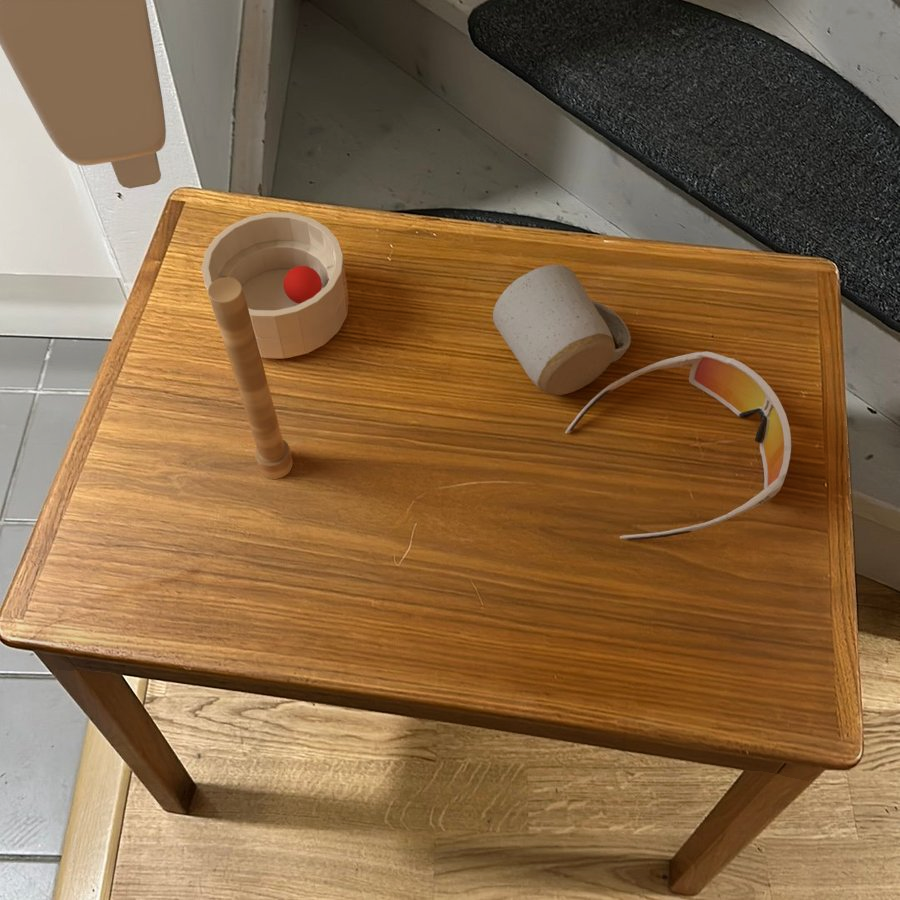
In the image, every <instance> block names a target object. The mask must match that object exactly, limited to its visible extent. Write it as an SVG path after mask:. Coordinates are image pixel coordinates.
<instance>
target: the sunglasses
mask: <svg viewBox="0 0 900 900" xmlns="http://www.w3.org/2000/svg"><path fill="white" fill-rule="evenodd" d="M688 365H690V371H689V377H688V382H689V383H690V384H691V385H693V386H694V387H696V388H698V389H700V390H701V391H703V392H704V393H706V394H708V395H710V396H711V397H713V398H714V399H715V400H716V401H718V402H720V403H721V404H722V405H724V406H725V407H726V408H728V409H729V410H730V411H731V412H733V413H734V414H735V415H736V416H737V417H739V418H740V419H747V418H749V417H752V416H753V415H755V414H758V416H759V418H760V419H761V421H760V425H759V426H758V429H757V431H756V434H755V438H754V442H756V443H758V444H759V452H760V457H761V461H762V466H763V477H764V478H763V479H764V480H763V481H764V483H763V489H762V490H761V491H760V492H758V493H757V494H756V495H755V496H754V497H752V498H751V499H749V500H747V501H746V502H745V503H744V504H742V505H740V506H738V507H736V508H735V509H733V510H731V511H730V512H727V513H726V514H724V515H720V516H718V517H716V518H713V519H711V520H708V521H705V522H701V523H696V524H693V525H688V526H685V527H680V528H675V529H670V530H664V531H663V530H662V531H655V532H647V533H635V534H634V533H633V534H623V535H619V538H620V539H621V540H625V541H639V540H652V539H660V538H667V537H672V536H679V535H684V534H689V533H692V532H697V531H700V530H704V529H708V528H710V527H713V526H715V525H718V524H720V523H722V522H725V521H727V520H731V519H732V518H734V517H737V516H739V515H743V514H744V513H746V512H748V511H750V510H752V509H755V508H757V507H759V506H760V505H762V504H764V502H766V501H769V500H770V499H772V498H773V497H775V496H776V495H777V494H778V493H779V492H780V491H781V489H782V486H783V485H784V482H785V478H786V476H787V474H788V469H789V464H790V461H791V453H792V435H791V433H792V432H791V427H790V425H789V420H788V417H787V413H786V410H785V409H784V407H783V405H782V402H781V400H780V399H779V397H778V396H777V394H776V392H775V391H774V390H773V388H772V387H771V386H770V385H769V384H768V383H767V382H766V381H765V379H764V378H763V377H761V375H759V374H758V373H757V372H756V371H755V370H753V369H752V368H750V367H749V366H747V365H746V364H744V363H743V362H741V361H739V360H737V359H735V358H733V357H728V356H725V355H722V354H719V353H715V352H712V351H695V352H691V353H686V354H682V355H678V356H677V355H676V356H674V357H670V358H669V357H668V358H666V359H662V360H660V361H656V362H654V363H652V364H649V365H647V366H644V367H642V368H639V369H638V370H635V371H633V372H630V373H629V374H627V375H625V376H623V377H621V378H619V379H617V380H615V381H614V382H612V383H610V384H608V385H607V386H605V388H603V389H602V390H601V391H599V392H598V393H597V394H596V395H595V396H594V397H593V398H592V399H590V401H589V402H587V403H586V405H585V406H584V407H583V408H582V409H581V410H580V412H579V413H578V414H577V415H576V417H575V418H574V419H573V420H572V421H571V423H570V424H569V426H568V427H567V428H566V430H565V431H564V433H565V434H570V433H571V432H572V431H573V430H574V429H575V428H576V426H577V425H578V423H579V422H580V421H581V420H582V418H583V417H585V415H586V414H587V413H588V412H589V411H590V409H592V408H593V406H594V405H596V403H597V402H599V401H600V400H601V399H602V398H603V397H604V396H605V395H607V394H608V393H610V392H612V391H614V390H615V389H616V388H617V389H618V388H619V387H621V386H624V385H625V384H627V383H628V382H630V381H632V380H633V379H635V378H638V377H639V376H642V375H644V374H646V373H650V372H653V371H656V370H663V369H675V368H679V367H684V366H688Z"/></svg>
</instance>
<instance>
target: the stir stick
mask: <svg viewBox="0 0 900 900" xmlns="http://www.w3.org/2000/svg"><path fill="white" fill-rule="evenodd" d="M208 295H209V297H208V299H209V298H210V300H209V302H210V301H211V303H210V305H211V304H212V306H211V308H212V307H213V310H214V313H213V315H214V314H215V316H214V318H215V317H216V319H215V321H216V320H217V322H216V324H217V323H218V325H217V327H218V326H219V328H218V330H219V332H220V336H221V339H222V343H223V345H224V347H225V348H224V349H225V352H226V355H227V358H228V362H229V365H230V367H231V370H232V374H233V377H234V380H235V383H236V386H237V390H238V394H239V397H240V400H241V402H242V406H243V408H244V413H245V416H246V418H247V422H248V425H249V428H250V431H251V434H252V437H253V441H254V444H255V449H254V458H255V460H256V463H257V467H258V470H259V472H260V474H261V475H262V476H264V477H265V478H268V479H270V480H271V479H272V480H277V479H282V478H284V477H285V476H287V475H288V474H289V473H290V472H291V470H292V468H293V464H294V462H293V458H292V454H291V450H290V446H289V444H288V442H287V441H286V440H285V439H284V438H283V435H282V431H281V428H280V424H279V420H278V415H277V412H276V408H275V404H274V401H273V397H272V393H271V389H270V386H269V382H268V378H267V373H266V370H265V368H264V363H263V360H262V357H261V355H260V352H259V348H258V344H257V340H256V336H255V333H254V329H253V325H252V321H251V318H250V314H249V310H248V306H247V302H246V299H245V295H244V291H243V287H242V284H241V283H240V282H239V281H238V280H237V279H235V278H232V277H222V278H219V279H217V280H215V281H214V282H212V283H211V285H210V286H209V289H208V294H207V296H208ZM213 310H212V311H213Z"/></svg>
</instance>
